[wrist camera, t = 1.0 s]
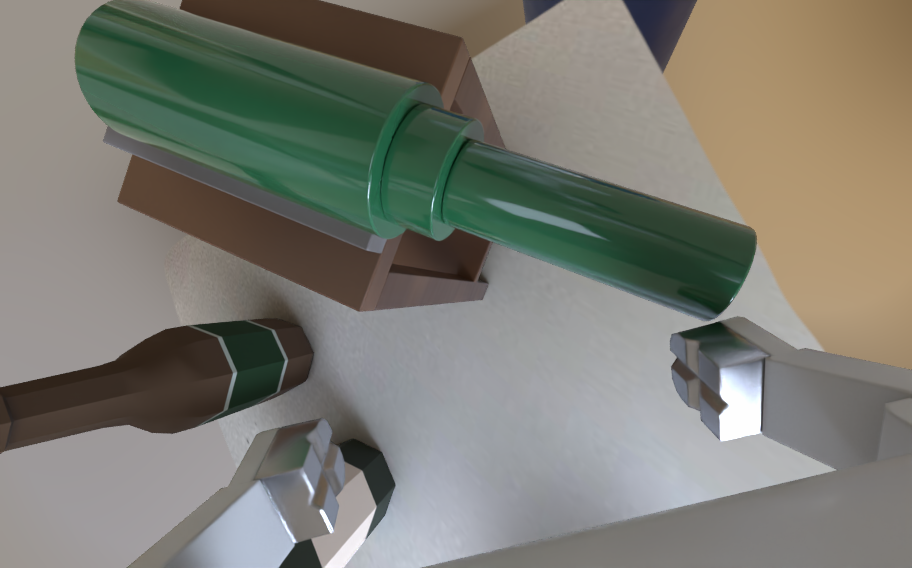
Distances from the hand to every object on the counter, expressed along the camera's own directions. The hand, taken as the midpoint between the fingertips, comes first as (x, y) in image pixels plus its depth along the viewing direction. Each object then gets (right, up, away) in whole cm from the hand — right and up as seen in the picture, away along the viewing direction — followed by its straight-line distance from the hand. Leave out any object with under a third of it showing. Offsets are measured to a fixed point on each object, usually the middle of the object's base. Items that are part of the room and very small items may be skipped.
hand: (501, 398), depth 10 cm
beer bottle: (-19, -5, +33) cm, 39 cm away
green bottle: (-2, +6, +4) cm, 8 cm away
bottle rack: (-2, +8, +29) cm, 31 cm away
